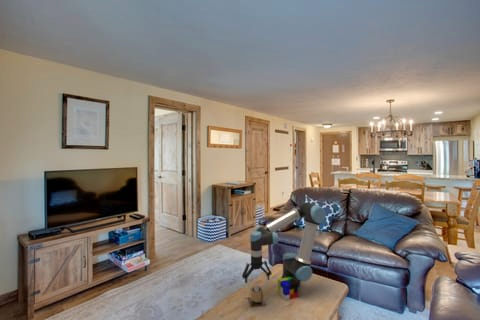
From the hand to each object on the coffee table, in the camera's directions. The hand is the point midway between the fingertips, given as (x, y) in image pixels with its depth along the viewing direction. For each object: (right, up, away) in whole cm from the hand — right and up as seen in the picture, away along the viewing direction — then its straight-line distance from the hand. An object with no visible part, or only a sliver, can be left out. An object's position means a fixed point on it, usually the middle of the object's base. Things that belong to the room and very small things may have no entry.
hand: (257, 286), depth 168 cm
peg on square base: (0, -11, 0) cm, 11 cm away
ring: (0, -8, 0) cm, 8 cm away
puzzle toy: (+22, -11, +9) cm, 26 cm away
